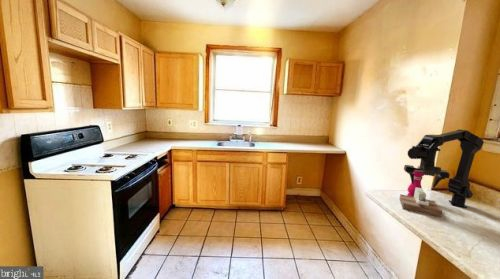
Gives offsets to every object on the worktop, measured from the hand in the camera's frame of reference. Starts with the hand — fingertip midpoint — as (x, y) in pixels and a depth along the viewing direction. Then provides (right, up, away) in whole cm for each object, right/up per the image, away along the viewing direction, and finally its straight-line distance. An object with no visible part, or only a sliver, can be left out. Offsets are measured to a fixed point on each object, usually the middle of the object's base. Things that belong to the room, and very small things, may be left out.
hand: (422, 186), depth 118 cm
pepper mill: (+5, -10, +13) cm, 17 cm away
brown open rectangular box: (-2, -12, +1) cm, 12 cm away
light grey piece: (-2, -9, 0) cm, 9 cm away
